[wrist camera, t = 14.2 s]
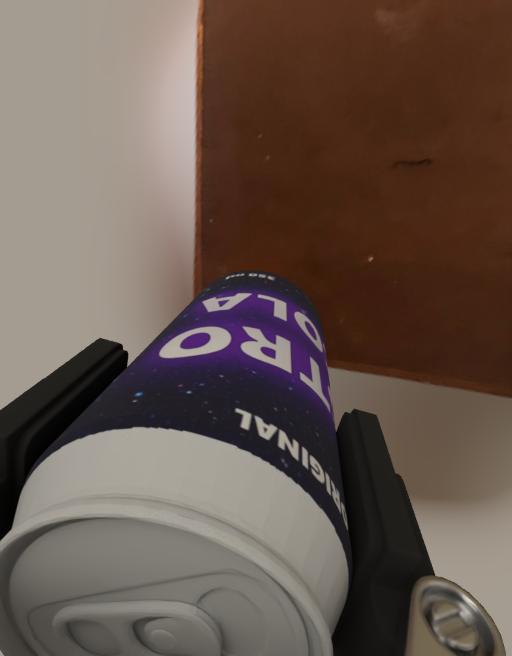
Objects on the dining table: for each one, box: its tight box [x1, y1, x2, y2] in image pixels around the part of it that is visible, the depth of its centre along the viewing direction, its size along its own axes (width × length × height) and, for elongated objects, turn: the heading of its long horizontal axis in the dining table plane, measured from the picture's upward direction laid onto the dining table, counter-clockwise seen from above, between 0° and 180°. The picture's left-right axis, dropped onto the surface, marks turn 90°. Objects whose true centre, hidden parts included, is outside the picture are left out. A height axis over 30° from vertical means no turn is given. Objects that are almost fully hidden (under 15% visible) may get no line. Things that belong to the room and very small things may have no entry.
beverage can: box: [0, 271, 353, 656], centre depth 11 cm, size 6×6×12 cm
